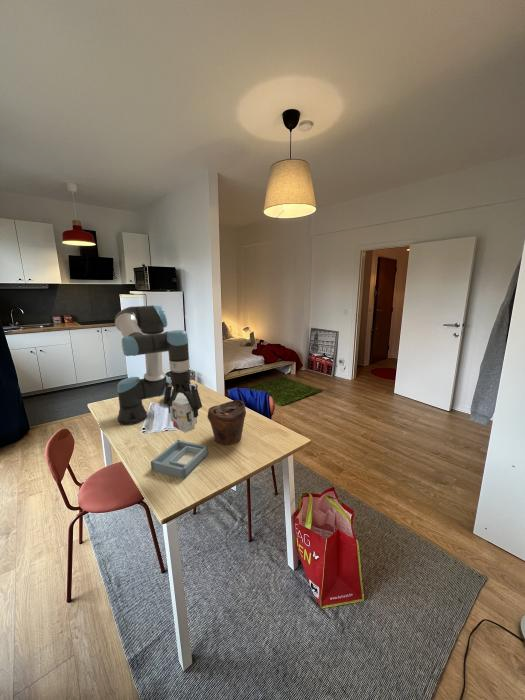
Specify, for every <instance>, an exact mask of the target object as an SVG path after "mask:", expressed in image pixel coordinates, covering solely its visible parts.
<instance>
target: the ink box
mask: <svg viewBox="0 0 525 700" xmlns="http://www.w3.org/2000/svg"><path fill="white" fill-rule="evenodd" d="M172 408H173V422H172V423H173V425H172V427H174V428H175V429H177V430H179V431H181V432H182V433H185V434H186V433H188V432H190V431H193V430H195V428H196V426H195V425H196V424H195V425H194V426H192V420H191V410H192V408H191V406H190V404H189V402H188V400H187V399H185V398H183V397H181V398H178V399H176V400H173V401H172Z"/></svg>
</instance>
